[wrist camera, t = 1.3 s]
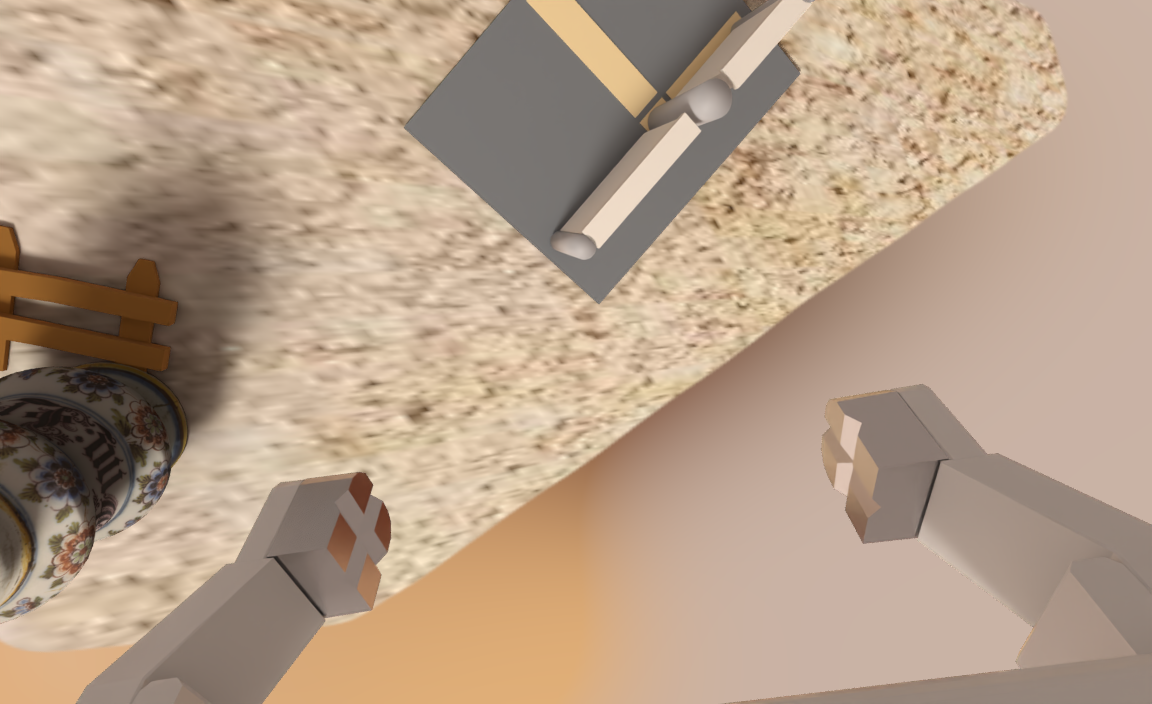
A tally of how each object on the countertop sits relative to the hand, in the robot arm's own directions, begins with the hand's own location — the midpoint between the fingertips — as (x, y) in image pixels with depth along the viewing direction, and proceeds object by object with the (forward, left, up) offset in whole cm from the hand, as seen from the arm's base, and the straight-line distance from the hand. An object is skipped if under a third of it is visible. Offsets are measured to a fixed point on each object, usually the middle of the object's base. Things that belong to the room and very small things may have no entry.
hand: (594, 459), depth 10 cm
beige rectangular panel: (+3, +11, -36) cm, 38 cm away
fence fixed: (+3, +22, -37) cm, 43 cm away
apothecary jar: (-13, -27, -37) cm, 48 cm away
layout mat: (-1, +17, -37) cm, 40 cm away
